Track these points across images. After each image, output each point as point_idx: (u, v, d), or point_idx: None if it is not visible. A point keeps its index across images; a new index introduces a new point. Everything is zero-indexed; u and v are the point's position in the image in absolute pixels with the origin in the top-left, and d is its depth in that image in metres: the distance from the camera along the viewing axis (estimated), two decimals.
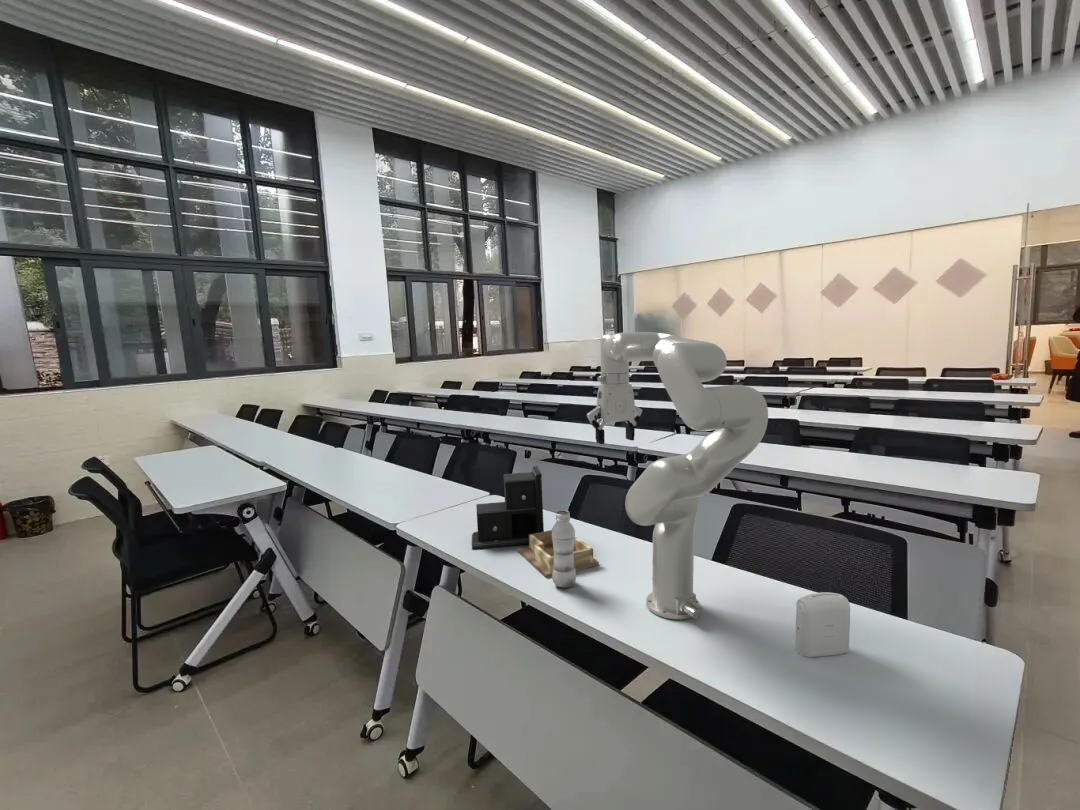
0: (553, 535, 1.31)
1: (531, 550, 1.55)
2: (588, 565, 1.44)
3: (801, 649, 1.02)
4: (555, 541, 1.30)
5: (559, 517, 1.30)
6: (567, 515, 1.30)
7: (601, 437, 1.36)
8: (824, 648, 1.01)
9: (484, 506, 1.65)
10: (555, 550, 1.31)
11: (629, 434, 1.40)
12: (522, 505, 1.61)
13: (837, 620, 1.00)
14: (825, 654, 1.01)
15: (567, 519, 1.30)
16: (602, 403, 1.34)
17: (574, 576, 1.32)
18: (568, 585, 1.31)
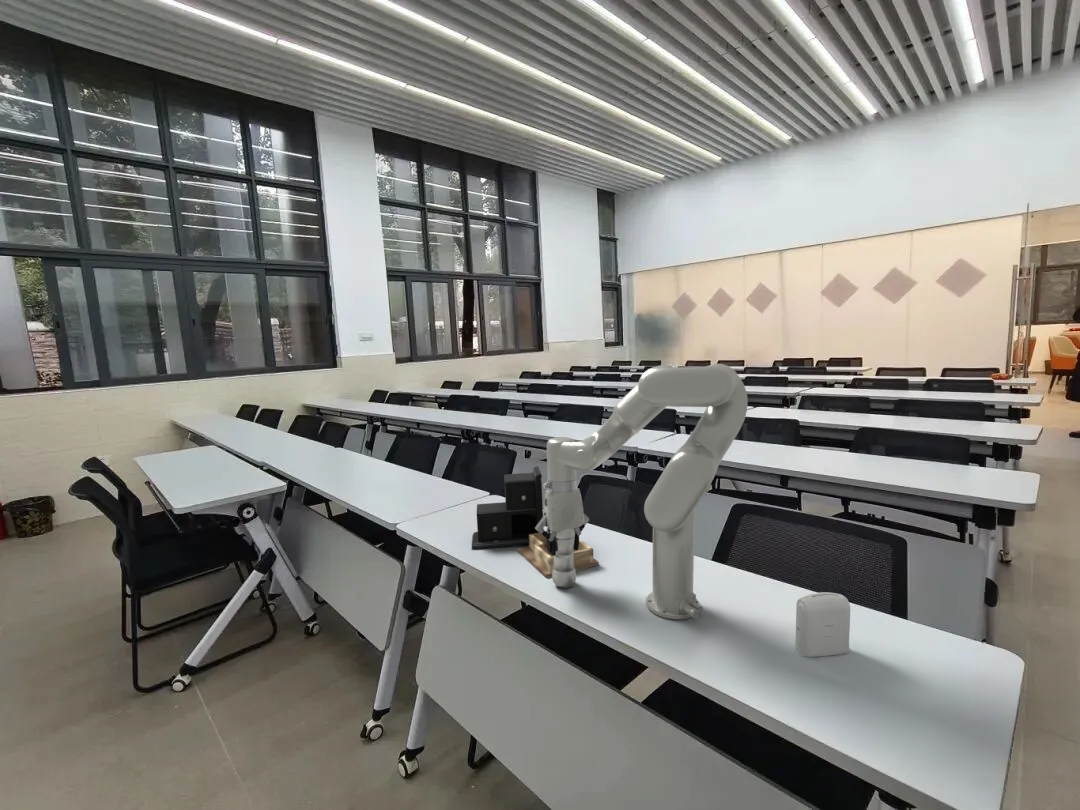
0: None
1: (531, 550, 1.55)
2: (588, 565, 1.44)
3: (801, 649, 1.02)
4: (555, 541, 1.30)
5: None
6: None
7: (552, 548, 1.30)
8: (824, 648, 1.01)
9: (485, 506, 1.65)
10: None
11: (574, 543, 1.34)
12: (522, 505, 1.61)
13: (837, 620, 1.00)
14: (825, 654, 1.01)
15: None
16: (548, 512, 1.28)
17: (574, 576, 1.32)
18: (568, 585, 1.31)
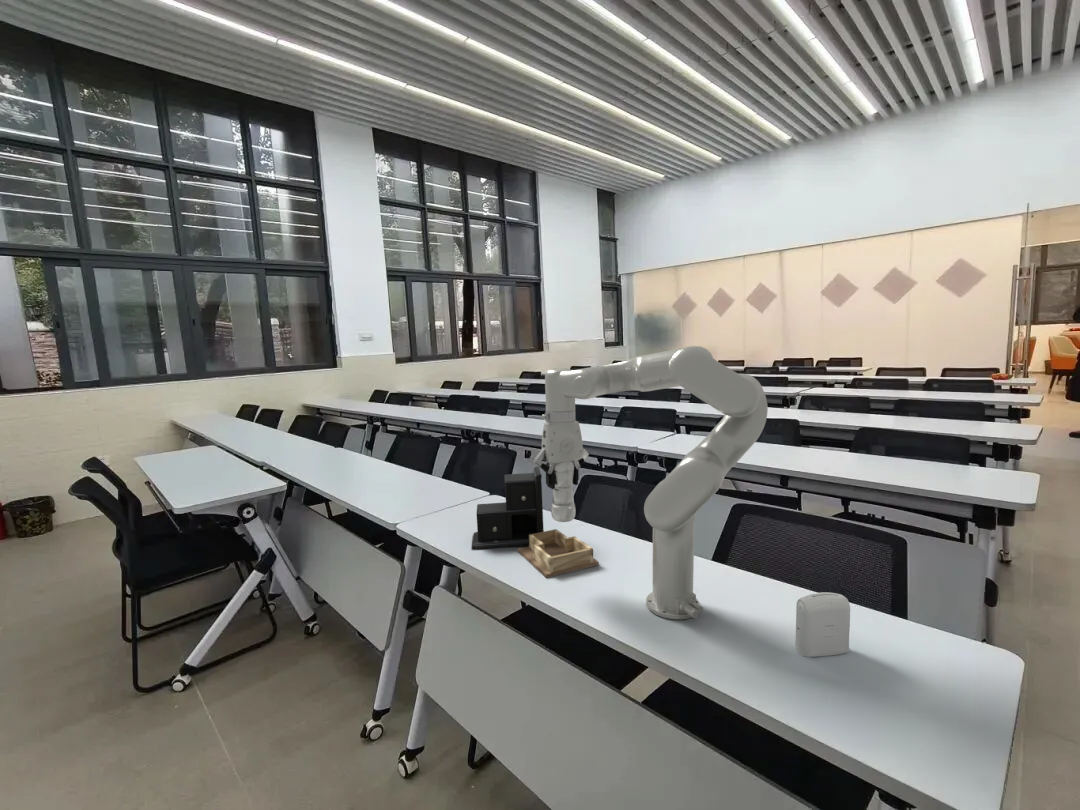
0: None
1: (531, 550, 1.55)
2: (588, 565, 1.44)
3: (801, 649, 1.02)
4: (554, 474, 1.28)
5: None
6: None
7: (551, 481, 1.28)
8: (824, 648, 1.01)
9: (485, 506, 1.65)
10: None
11: (573, 478, 1.32)
12: (522, 506, 1.61)
13: (837, 620, 1.00)
14: (825, 654, 1.01)
15: None
16: (546, 443, 1.26)
17: (573, 510, 1.30)
18: (567, 519, 1.29)
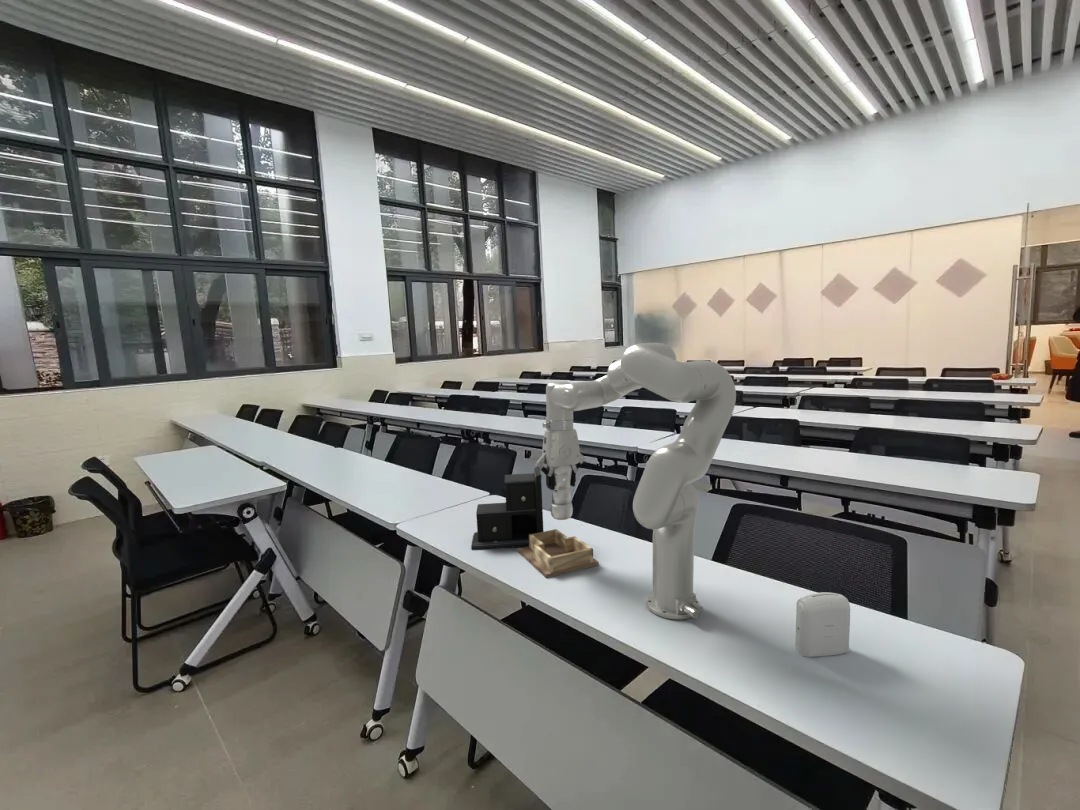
0: None
1: (531, 550, 1.55)
2: (588, 565, 1.44)
3: (801, 649, 1.02)
4: None
5: None
6: None
7: (551, 483, 1.42)
8: (824, 648, 1.01)
9: (485, 506, 1.65)
10: None
11: (571, 480, 1.45)
12: (522, 506, 1.60)
13: (837, 620, 1.00)
14: (825, 654, 1.01)
15: None
16: (547, 449, 1.40)
17: (571, 509, 1.44)
18: (565, 517, 1.43)
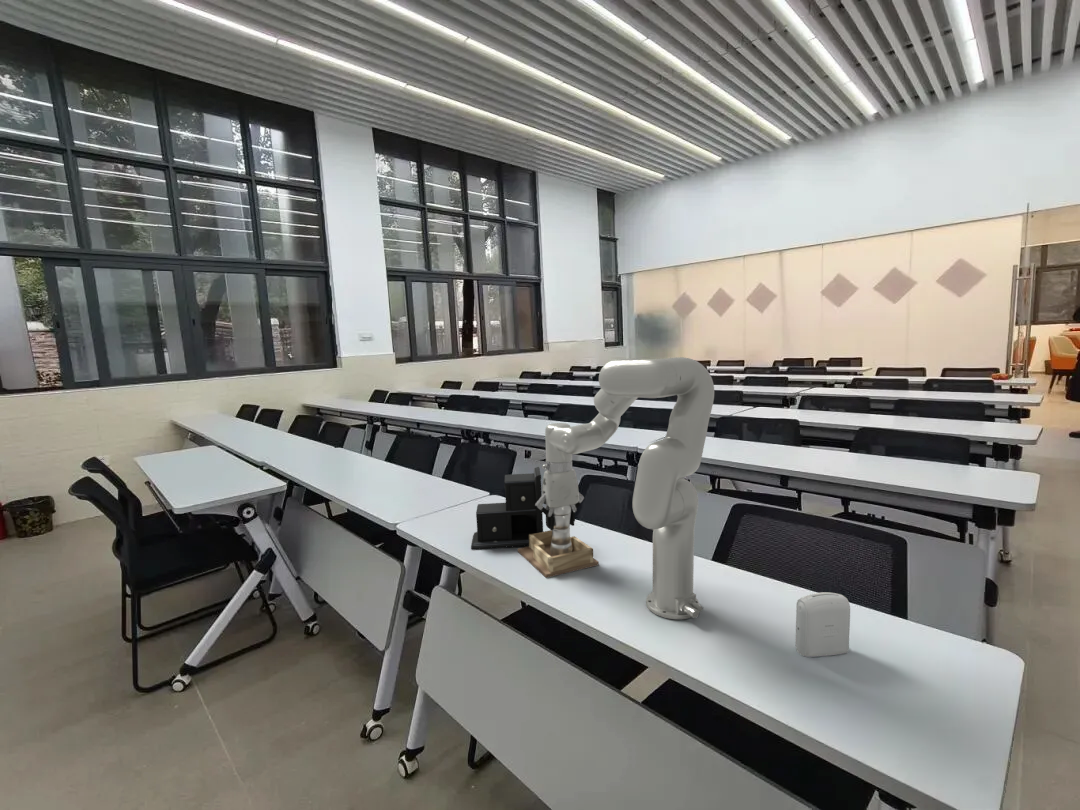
0: None
1: (531, 550, 1.55)
2: (588, 565, 1.44)
3: (801, 649, 1.02)
4: (553, 517, 1.45)
5: None
6: None
7: (550, 523, 1.44)
8: (824, 648, 1.01)
9: (485, 506, 1.65)
10: None
11: (570, 519, 1.48)
12: (522, 506, 1.60)
13: (837, 620, 1.00)
14: (825, 654, 1.01)
15: None
16: (546, 490, 1.42)
17: (570, 549, 1.46)
18: None
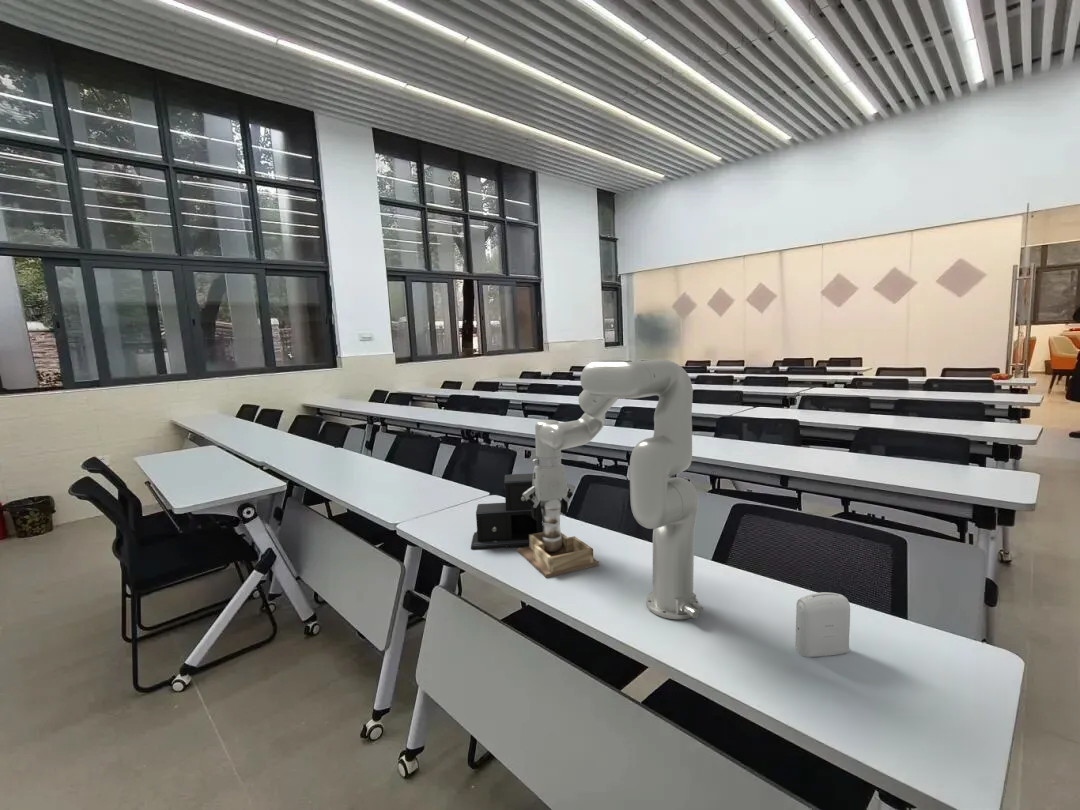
0: (542, 506, 1.51)
1: (531, 550, 1.55)
2: (588, 565, 1.44)
3: (801, 649, 1.02)
4: (544, 511, 1.51)
5: None
6: None
7: (536, 514, 1.50)
8: (824, 648, 1.01)
9: (485, 506, 1.65)
10: (544, 519, 1.52)
11: (563, 509, 1.54)
12: (522, 506, 1.60)
13: (837, 620, 1.00)
14: (825, 654, 1.01)
15: None
16: (536, 484, 1.49)
17: (560, 542, 1.52)
18: (555, 549, 1.51)
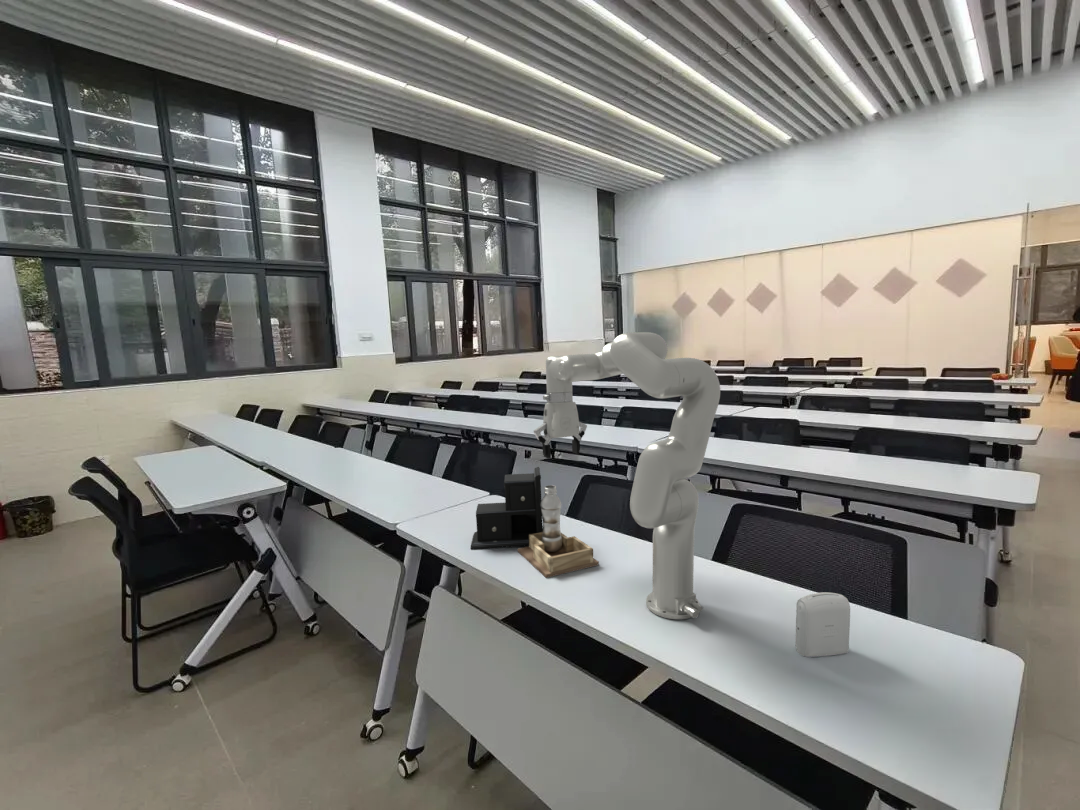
0: (542, 506, 1.51)
1: (531, 550, 1.55)
2: (588, 565, 1.44)
3: (801, 649, 1.02)
4: (544, 511, 1.51)
5: (547, 490, 1.51)
6: (554, 489, 1.51)
7: (547, 452, 1.46)
8: (824, 648, 1.01)
9: (485, 506, 1.65)
10: (544, 519, 1.52)
11: (575, 448, 1.51)
12: (522, 506, 1.60)
13: (837, 620, 1.00)
14: (825, 654, 1.01)
15: (554, 492, 1.51)
16: (547, 420, 1.45)
17: (560, 542, 1.52)
18: (555, 549, 1.51)
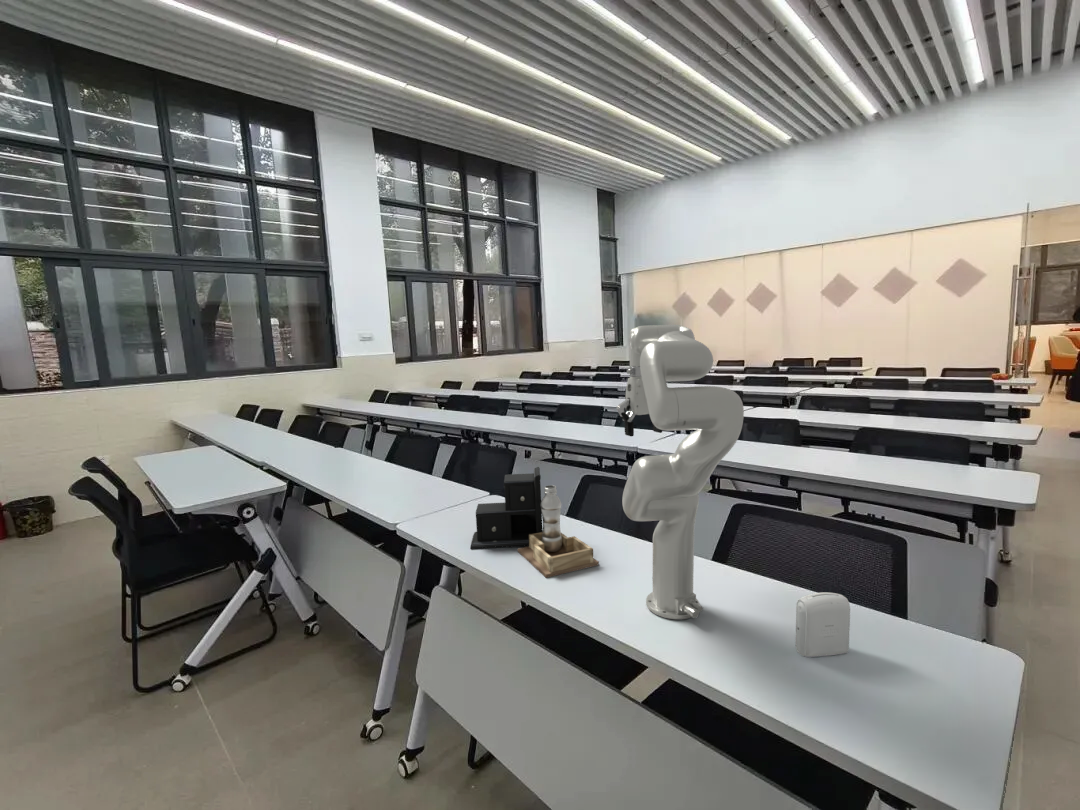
0: (542, 506, 1.51)
1: (531, 550, 1.55)
2: (588, 565, 1.44)
3: (801, 649, 1.02)
4: (544, 511, 1.51)
5: (547, 490, 1.51)
6: (554, 489, 1.51)
7: (630, 429, 1.37)
8: (824, 648, 1.01)
9: (485, 506, 1.66)
10: (544, 519, 1.52)
11: None
12: (522, 506, 1.60)
13: (837, 620, 1.00)
14: (825, 654, 1.01)
15: (554, 492, 1.51)
16: (632, 395, 1.36)
17: (560, 542, 1.52)
18: (555, 549, 1.51)
